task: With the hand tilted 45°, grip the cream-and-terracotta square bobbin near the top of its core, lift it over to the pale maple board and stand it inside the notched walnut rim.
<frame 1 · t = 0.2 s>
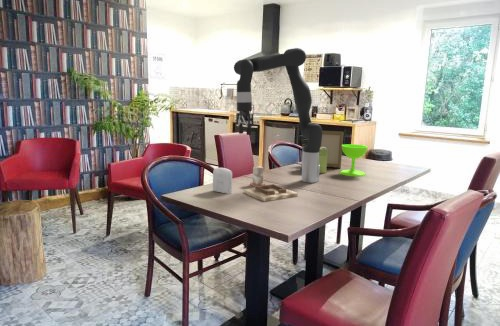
hand: (244, 134, 185), 29 cm above the table, tool pointing down, fingers open, 8 cm apart
cradle board: (270, 194, 183), on the table
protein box: (313, 171, 243), on the table
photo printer: (222, 192, 186), on the table
photo frame: (325, 166, 262), on the table
bobbin: (257, 185, 202), on the table
wineglass: (352, 174, 237), on the table
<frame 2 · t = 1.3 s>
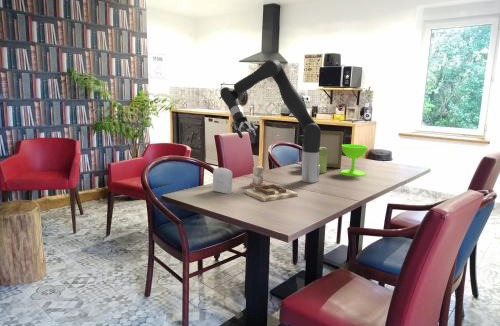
hand: (248, 137, 206), 25 cm above the table, tool tilted 45°, fingers open, 8 cm apart
nothing on the table moved.
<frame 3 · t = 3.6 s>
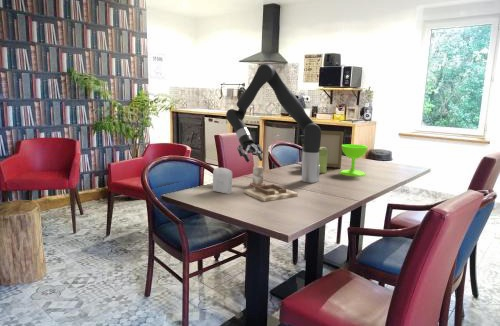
hand: (255, 160, 202), 13 cm above the table, tool tilted 45°, fingers open, 8 cm apart
nothing on the table moved.
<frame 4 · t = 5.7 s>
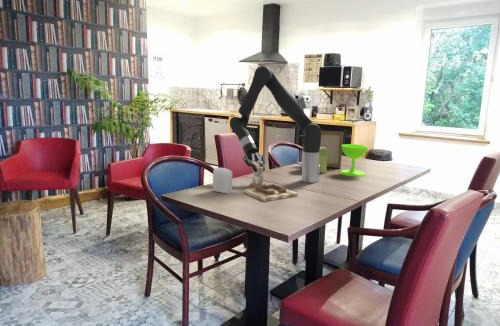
hand: (260, 171, 199), 8 cm above the table, tool tilted 45°, fingers closed on bobbin, 4 cm apart
bobbin: (257, 184, 202), on the table, touching gripper
everything else where it was.
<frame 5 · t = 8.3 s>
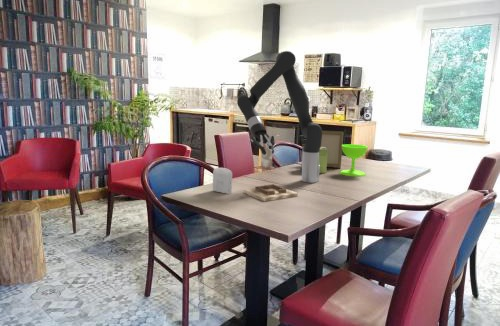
hand: (268, 153, 184), 20 cm above the table, tool tilted 45°, fingers closed on bobbin, 4 cm apart
bobbin: (266, 168, 187), point 12 cm above the table, touching gripper
everything else where it was.
when the fingers open (10 cm above the table, at t = 10.9 s): bobbin stays where it is, resting on cradle board.
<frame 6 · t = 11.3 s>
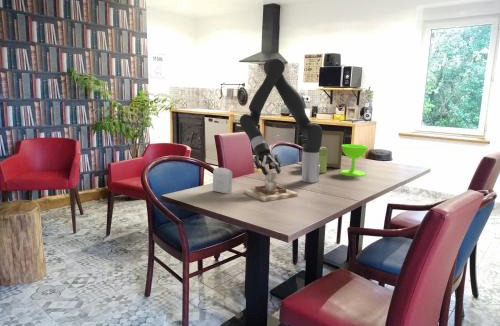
hand: (273, 173, 180), 11 cm above the table, tool tilted 45°, fingers open, 7 cm apart
bobbin: (270, 191, 183), point 1 cm above the table, touching cradle board
everything else where it was.
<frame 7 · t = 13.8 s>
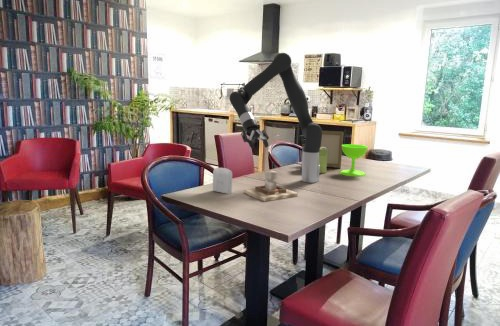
hand: (260, 147, 188), 22 cm above the table, tool tilted 45°, fingers open, 8 cm apart
nothing on the table moved.
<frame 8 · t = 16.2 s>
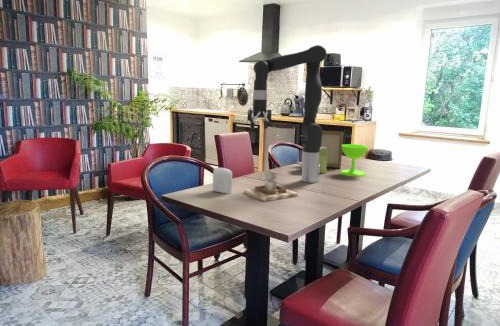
hand: (259, 128, 203), 30 cm above the table, tool pointing down, fingers open, 8 cm apart
nothing on the table moved.
at the end: bobbin 0.1 cm off-centre on the cradle board, point 1.5 cm above the cradle board's base; bobbin tilted 0°; the gripper is holding nothing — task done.
